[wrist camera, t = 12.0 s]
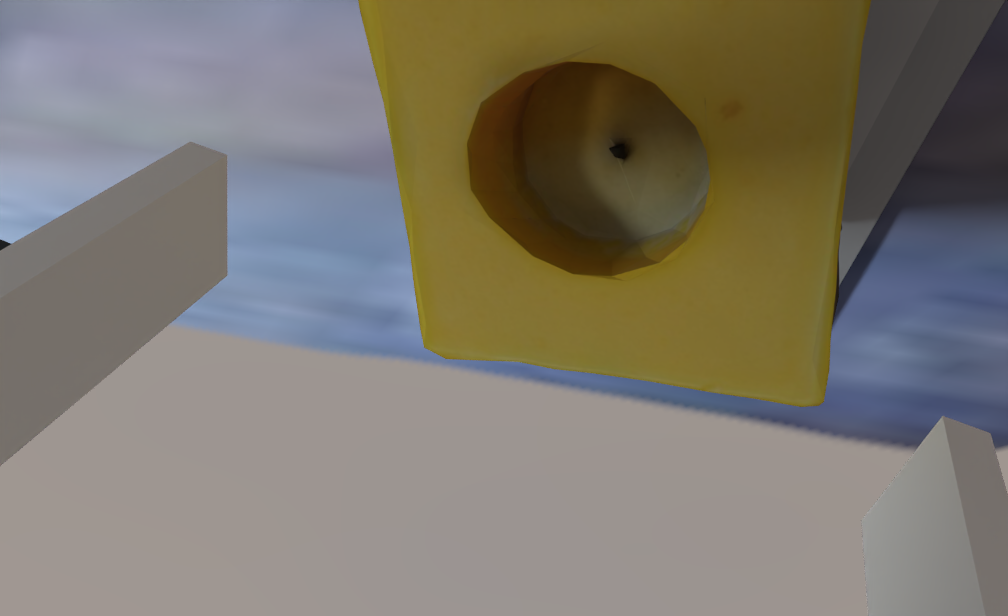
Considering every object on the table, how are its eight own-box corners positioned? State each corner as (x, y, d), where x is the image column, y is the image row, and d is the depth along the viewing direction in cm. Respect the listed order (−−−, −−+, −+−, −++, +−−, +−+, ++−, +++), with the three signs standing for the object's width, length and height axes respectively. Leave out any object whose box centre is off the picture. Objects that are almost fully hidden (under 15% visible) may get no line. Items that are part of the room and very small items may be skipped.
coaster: (448, 211, 31) (441, 219, 30) (530, -209, 22) (523, -209, 22) (800, 343, 28) (800, 354, 28) (1036, -66, 20) (1042, -63, 20)
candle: (834, 224, 25) (836, 422, 17) (533, 209, 28) (419, 368, 21) (881, -141, 20) (917, -98, 12) (505, -107, 23) (339, -57, 15)
